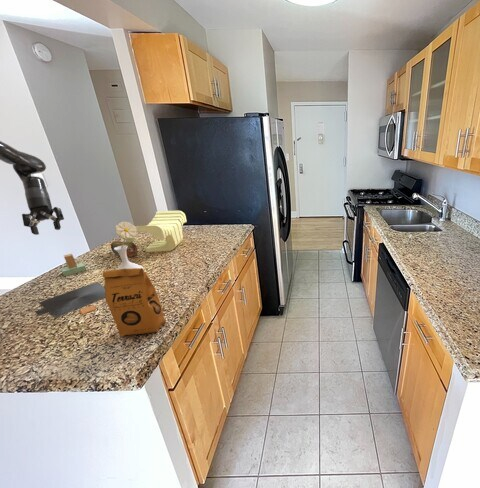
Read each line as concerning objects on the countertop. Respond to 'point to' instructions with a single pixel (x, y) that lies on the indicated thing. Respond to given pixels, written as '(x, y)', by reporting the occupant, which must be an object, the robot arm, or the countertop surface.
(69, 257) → the scrub brush
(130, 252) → the multicolored arch
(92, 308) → the orange flat rounded piece
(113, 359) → the countertop surface
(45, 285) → the countertop surface
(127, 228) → the flower in vase
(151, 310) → the coffee package
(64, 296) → the griddle pan
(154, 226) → the slatted curved stool
